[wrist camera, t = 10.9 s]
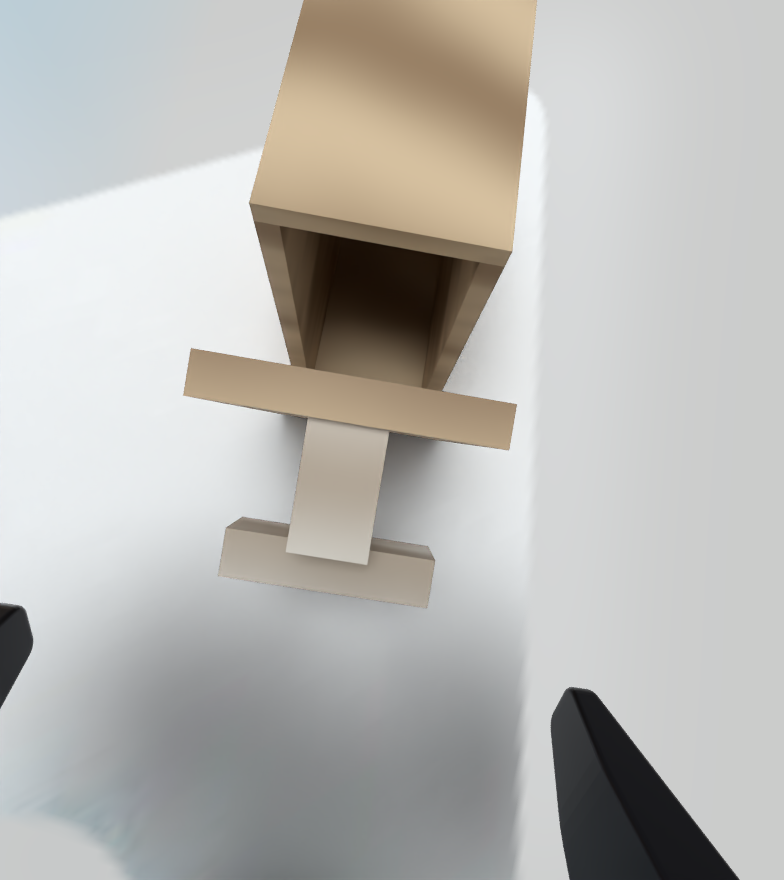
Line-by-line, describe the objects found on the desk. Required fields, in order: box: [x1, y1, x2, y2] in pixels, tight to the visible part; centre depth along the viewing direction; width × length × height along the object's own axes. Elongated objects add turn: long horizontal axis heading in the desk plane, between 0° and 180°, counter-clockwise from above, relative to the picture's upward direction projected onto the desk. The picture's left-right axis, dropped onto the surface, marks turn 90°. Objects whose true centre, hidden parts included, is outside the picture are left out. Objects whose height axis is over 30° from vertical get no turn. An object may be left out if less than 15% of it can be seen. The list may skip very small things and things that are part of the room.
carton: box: [249, 0, 537, 391], centre depth 19 cm, size 9×6×12 cm, turn 171°
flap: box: [183, 348, 517, 608], centre depth 17 cm, size 5×7×11 cm
